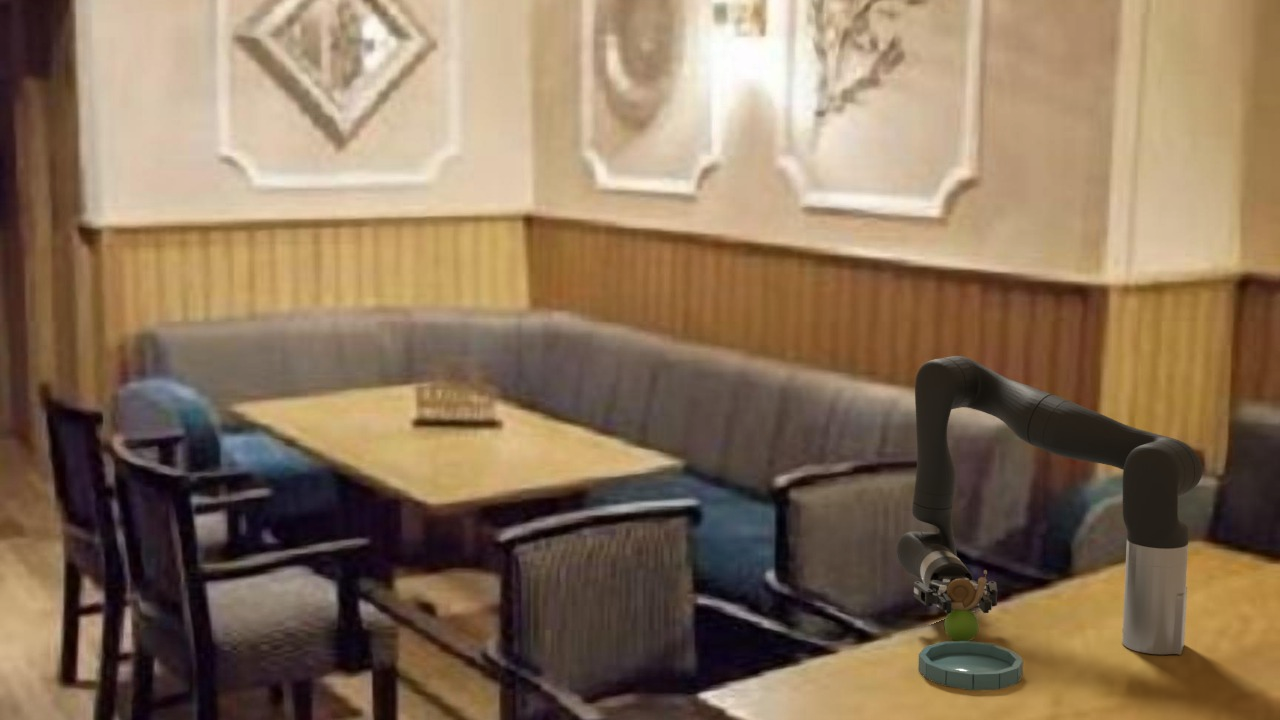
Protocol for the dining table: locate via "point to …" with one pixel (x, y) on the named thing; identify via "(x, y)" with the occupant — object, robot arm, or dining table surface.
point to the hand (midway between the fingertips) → (968, 607)
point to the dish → (970, 665)
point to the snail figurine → (963, 608)
